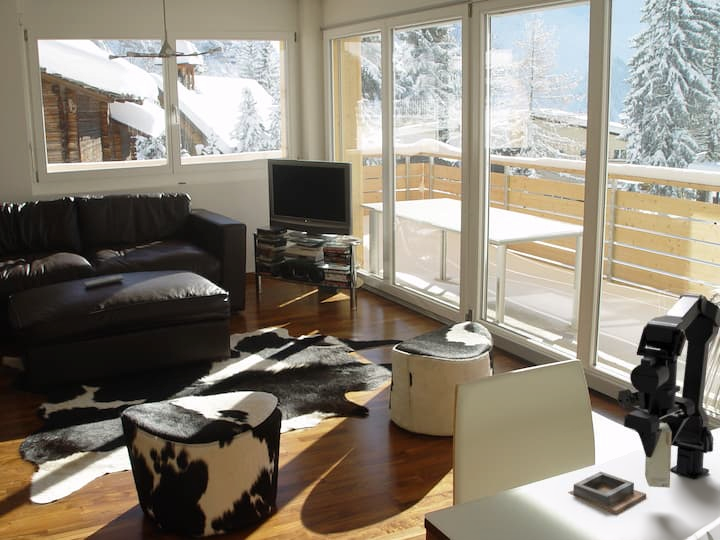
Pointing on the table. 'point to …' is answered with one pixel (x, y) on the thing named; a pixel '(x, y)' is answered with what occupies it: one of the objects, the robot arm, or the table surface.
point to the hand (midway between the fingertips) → (658, 452)
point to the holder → (607, 492)
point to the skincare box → (660, 460)
